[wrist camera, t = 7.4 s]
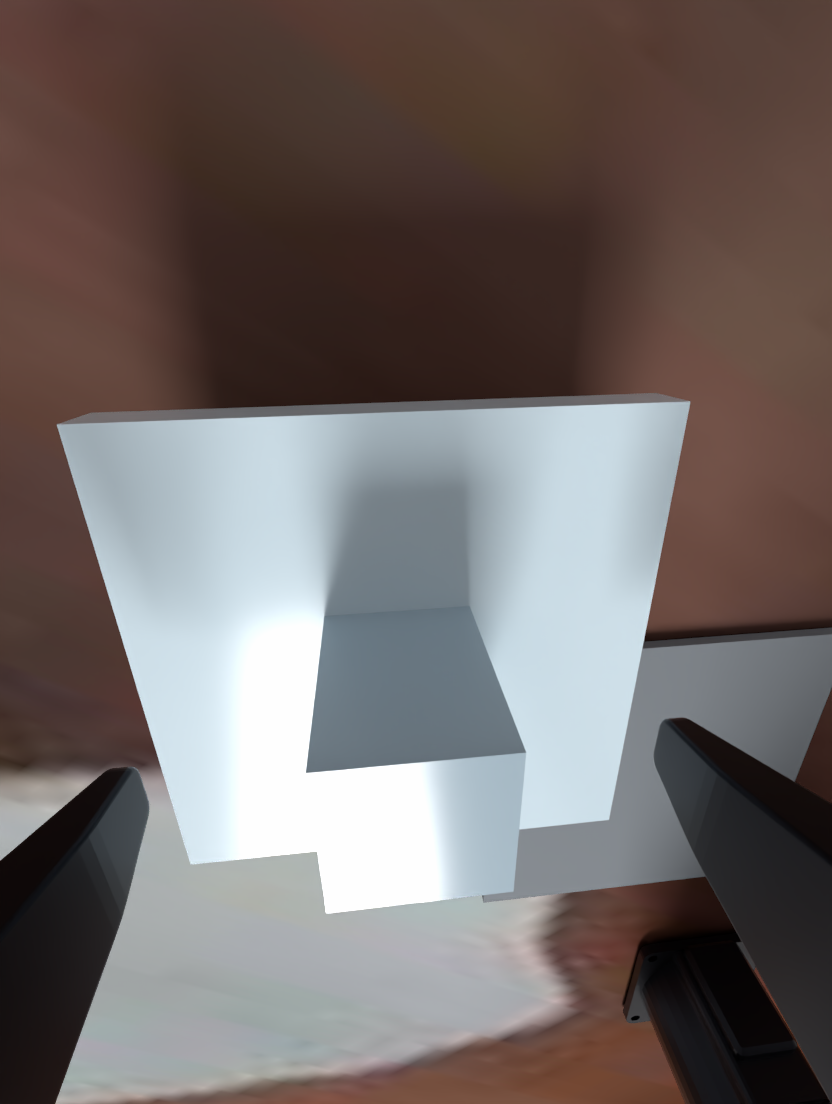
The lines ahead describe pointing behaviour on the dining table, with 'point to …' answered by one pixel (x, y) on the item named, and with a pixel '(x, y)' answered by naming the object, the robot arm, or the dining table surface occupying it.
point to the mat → (660, 693)
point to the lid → (383, 621)
